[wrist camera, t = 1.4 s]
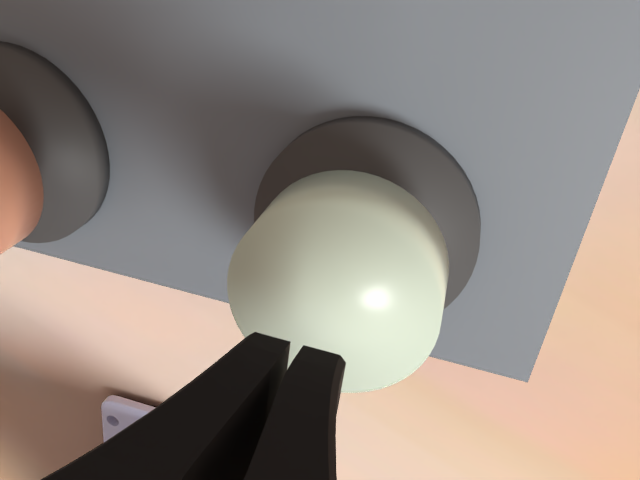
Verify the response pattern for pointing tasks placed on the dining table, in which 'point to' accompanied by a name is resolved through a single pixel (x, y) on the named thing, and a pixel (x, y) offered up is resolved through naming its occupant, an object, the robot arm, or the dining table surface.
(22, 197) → the terracotta button
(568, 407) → the dining table surface
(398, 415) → the dining table surface
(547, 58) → the control panel
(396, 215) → the sage button
